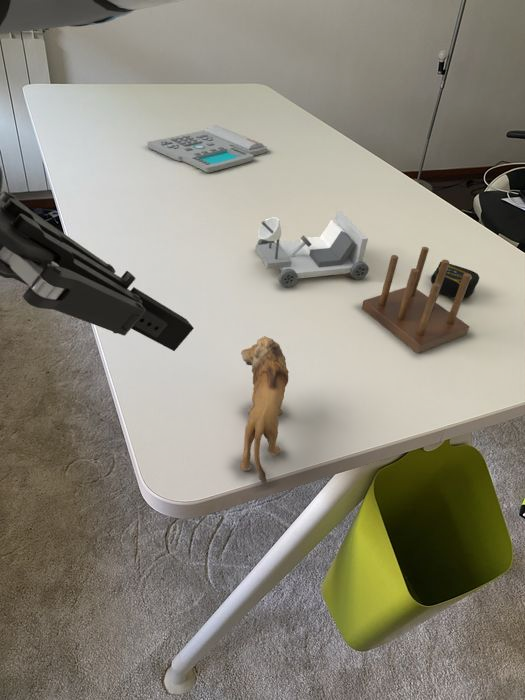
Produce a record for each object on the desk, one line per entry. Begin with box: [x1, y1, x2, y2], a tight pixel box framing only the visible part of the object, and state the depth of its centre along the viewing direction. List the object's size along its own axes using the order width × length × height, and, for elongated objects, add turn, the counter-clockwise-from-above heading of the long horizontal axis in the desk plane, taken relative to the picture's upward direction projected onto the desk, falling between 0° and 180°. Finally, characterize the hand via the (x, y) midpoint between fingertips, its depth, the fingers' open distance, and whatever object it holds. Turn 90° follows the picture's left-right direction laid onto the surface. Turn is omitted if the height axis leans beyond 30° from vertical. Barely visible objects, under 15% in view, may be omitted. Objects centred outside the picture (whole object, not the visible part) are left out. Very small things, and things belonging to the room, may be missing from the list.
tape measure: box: [430, 260, 480, 300], centre depth 88 cm, size 7×7×4 cm
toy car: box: [255, 210, 370, 288], centre depth 88 cm, size 18×10×12 cm
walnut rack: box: [361, 246, 471, 354], centre depth 79 cm, size 12×10×10 cm
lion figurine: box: [240, 336, 289, 485], centre depth 59 cm, size 15×5×9 cm, turn 3°
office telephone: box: [146, 124, 268, 173], centre depth 129 cm, size 23×3×20 cm
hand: (180, 335), depth 48 cm, fingers closed
